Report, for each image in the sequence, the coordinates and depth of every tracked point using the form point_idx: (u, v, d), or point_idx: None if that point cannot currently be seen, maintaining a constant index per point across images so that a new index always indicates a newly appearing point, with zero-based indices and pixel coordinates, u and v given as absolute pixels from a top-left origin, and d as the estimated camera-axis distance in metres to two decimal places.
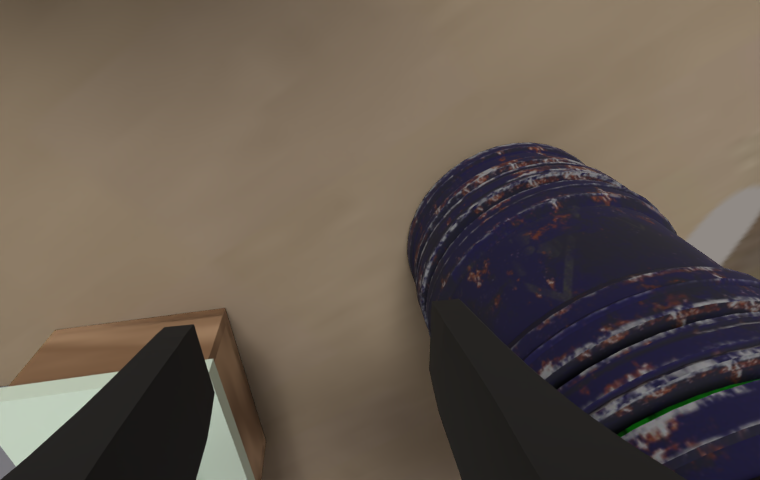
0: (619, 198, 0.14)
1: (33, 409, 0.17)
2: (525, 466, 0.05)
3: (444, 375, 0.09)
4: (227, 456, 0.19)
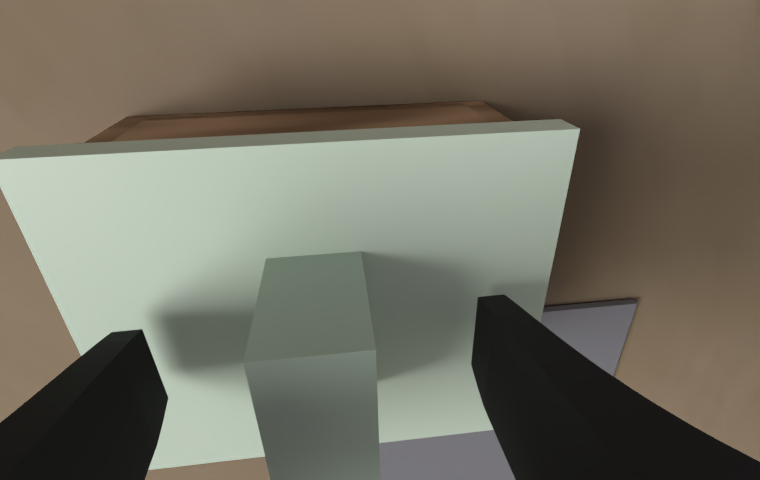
0: None
1: None
2: (604, 456, 0.05)
3: (493, 369, 0.09)
4: (282, 169, 0.08)
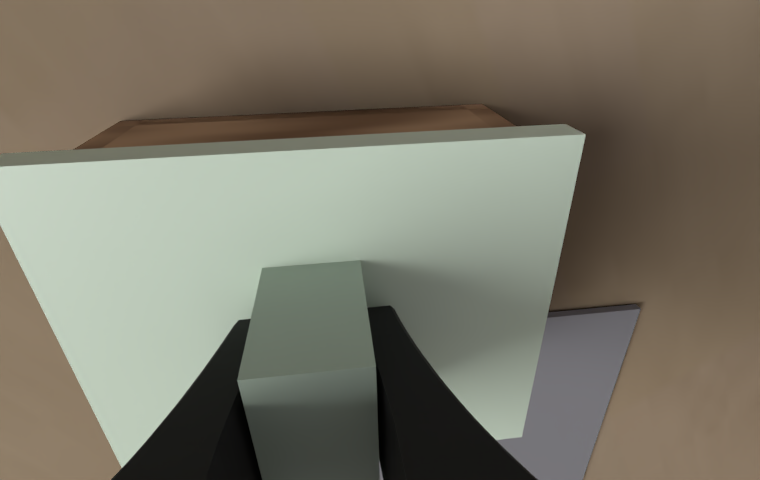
0: None
1: (131, 431, 0.11)
2: None
3: None
4: (278, 176, 0.08)
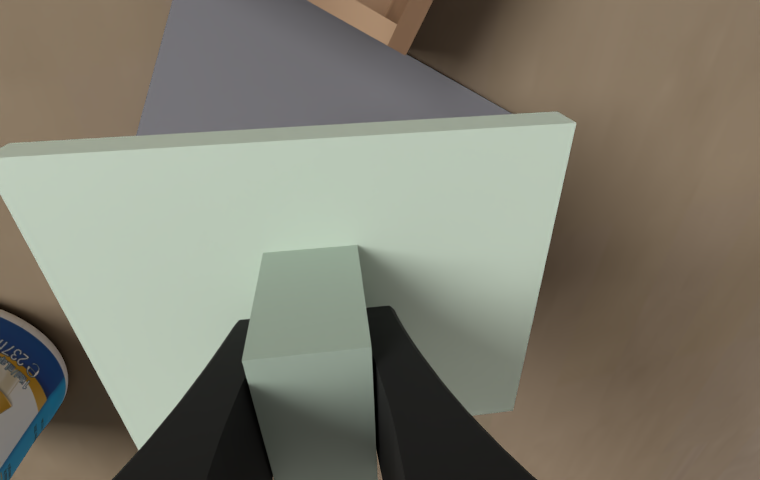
0: None
1: (141, 406, 0.11)
2: None
3: None
4: (276, 165, 0.08)
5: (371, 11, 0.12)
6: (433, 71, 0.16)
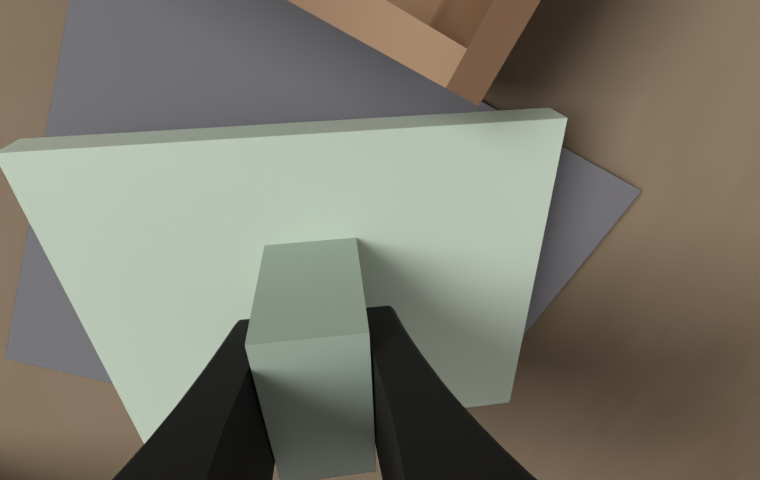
0: None
1: (145, 397, 0.11)
2: None
3: None
4: (278, 159, 0.09)
5: (419, 24, 0.06)
6: None
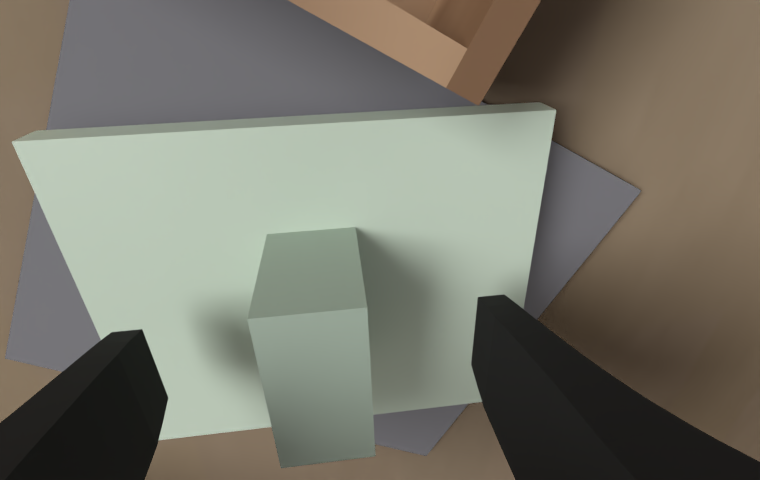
0: None
1: None
2: (604, 456, 0.05)
3: (493, 369, 0.09)
4: (281, 148, 0.09)
5: (419, 23, 0.06)
6: None
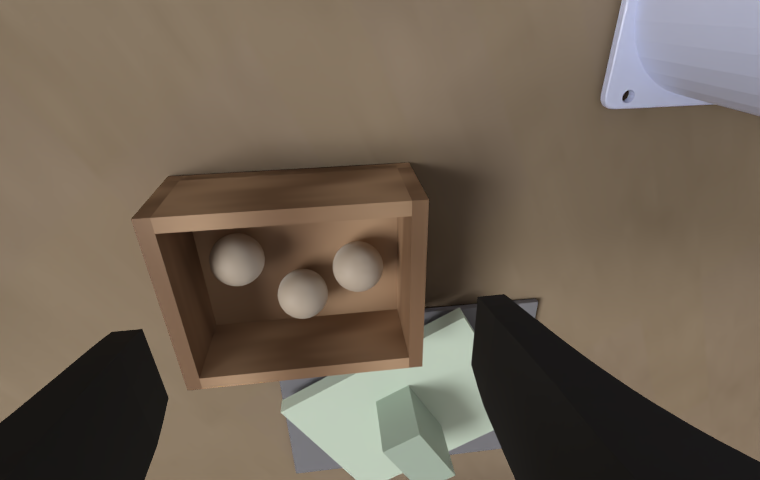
0: None
1: (358, 469, 0.26)
2: (604, 456, 0.05)
3: (493, 370, 0.09)
4: (366, 375, 0.22)
5: (391, 360, 0.19)
6: (445, 311, 0.23)
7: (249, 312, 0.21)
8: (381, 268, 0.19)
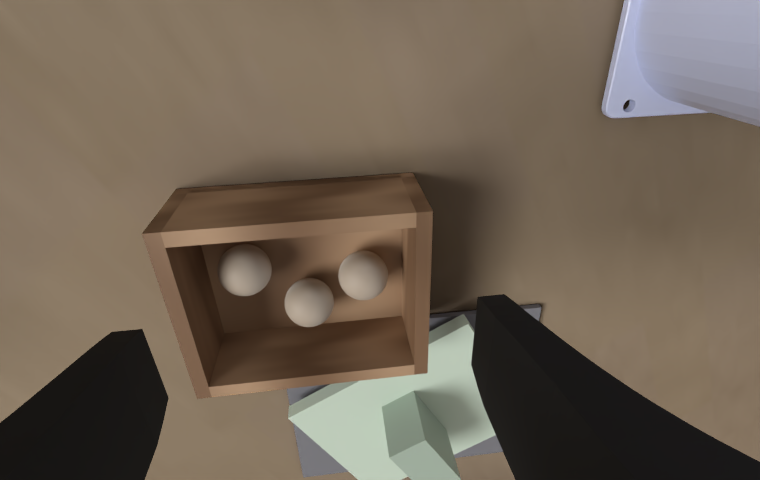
0: None
1: (364, 473, 0.26)
2: (603, 456, 0.05)
3: (493, 370, 0.09)
4: (372, 381, 0.23)
5: (396, 368, 0.19)
6: (449, 317, 0.23)
7: (256, 320, 0.21)
8: (386, 277, 0.19)
